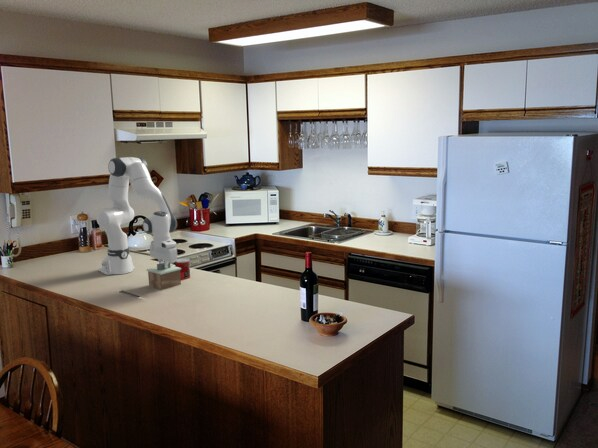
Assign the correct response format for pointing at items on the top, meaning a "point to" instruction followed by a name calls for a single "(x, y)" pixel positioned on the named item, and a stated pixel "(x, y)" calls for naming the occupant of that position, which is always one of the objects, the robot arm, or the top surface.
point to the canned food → (183, 267)
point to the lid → (163, 269)
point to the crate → (164, 279)
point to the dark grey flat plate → (129, 294)
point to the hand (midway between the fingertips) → (163, 267)
